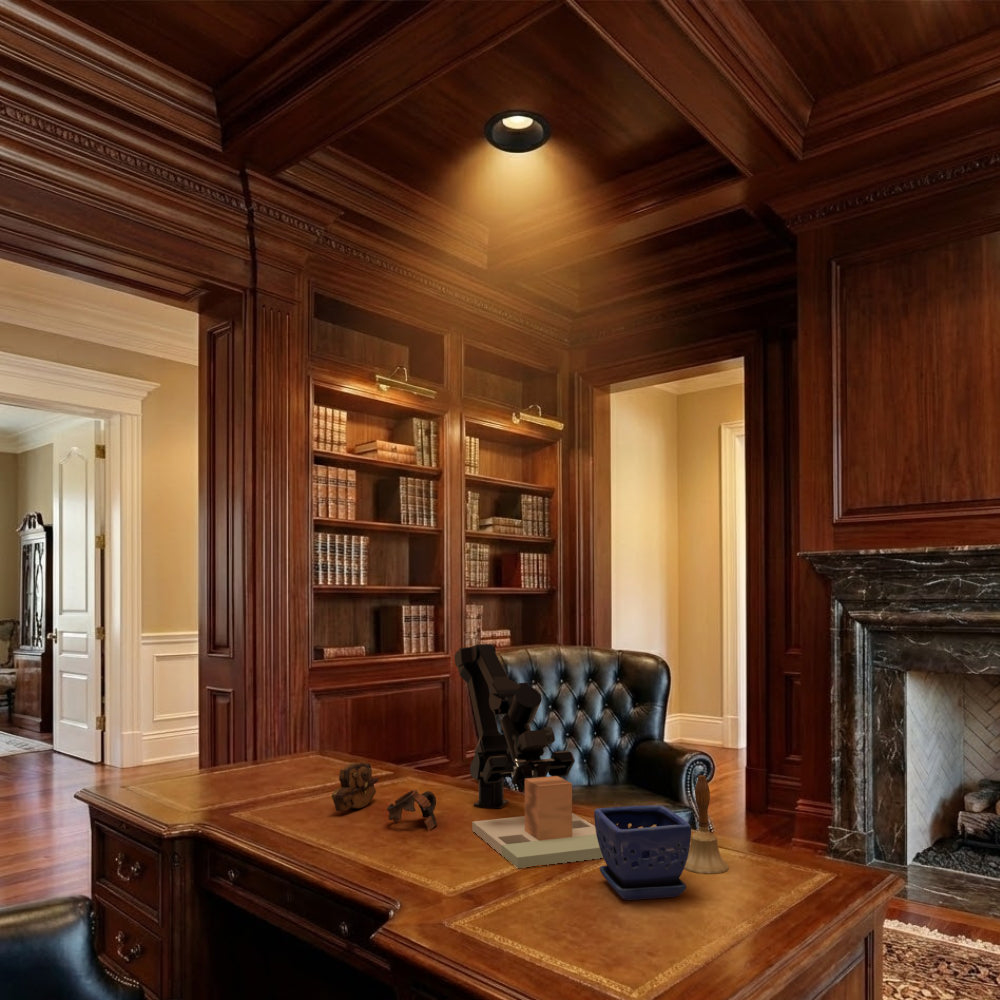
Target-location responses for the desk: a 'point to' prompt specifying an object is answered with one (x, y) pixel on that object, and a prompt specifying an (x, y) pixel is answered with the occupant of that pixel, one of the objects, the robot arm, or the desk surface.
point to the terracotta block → (548, 807)
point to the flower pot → (643, 850)
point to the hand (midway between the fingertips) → (540, 803)
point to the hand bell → (704, 837)
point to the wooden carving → (354, 787)
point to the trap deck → (519, 830)
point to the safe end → (552, 851)
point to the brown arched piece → (407, 803)
